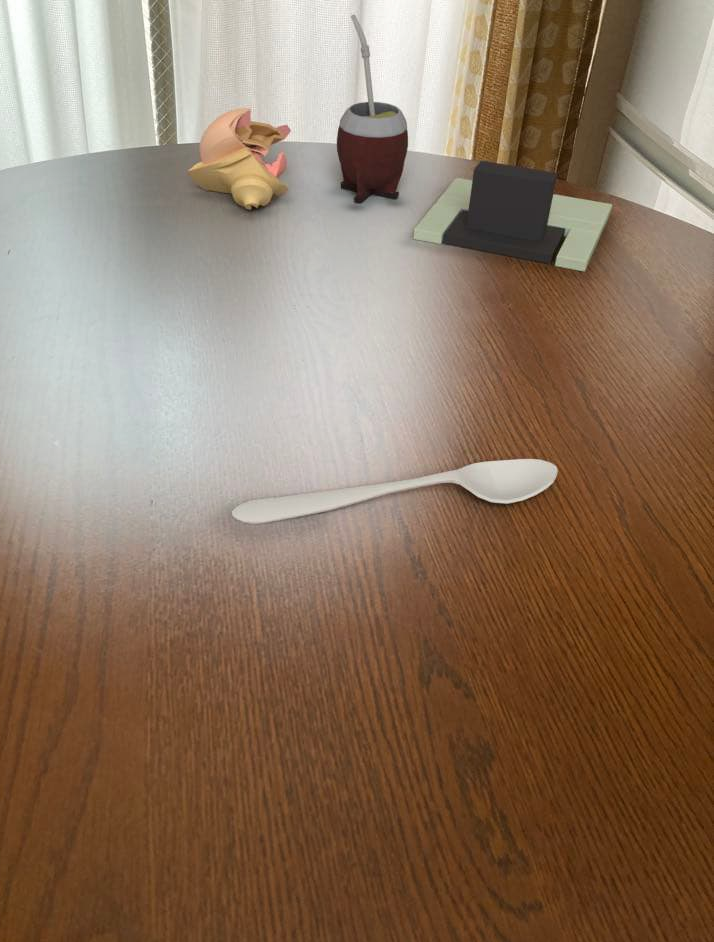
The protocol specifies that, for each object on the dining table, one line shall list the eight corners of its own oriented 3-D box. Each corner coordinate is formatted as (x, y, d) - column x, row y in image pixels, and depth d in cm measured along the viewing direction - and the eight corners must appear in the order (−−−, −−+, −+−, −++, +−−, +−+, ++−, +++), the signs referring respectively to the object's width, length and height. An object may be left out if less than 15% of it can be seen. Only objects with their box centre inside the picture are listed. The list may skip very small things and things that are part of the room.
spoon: (565, 506, 57) (570, 486, 56) (235, 538, 55) (234, 517, 54) (541, 466, 60) (546, 446, 59) (228, 494, 58) (227, 474, 57)
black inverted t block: (567, 230, 88) (582, 161, 84) (550, 264, 83) (565, 192, 78) (466, 212, 91) (475, 144, 87) (443, 243, 85) (451, 173, 81)
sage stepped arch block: (610, 213, 91) (612, 203, 91) (584, 272, 82) (587, 261, 81) (454, 186, 96) (456, 177, 95) (412, 239, 86) (414, 228, 85)
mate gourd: (388, 211, 91) (401, 43, 81) (315, 196, 93) (319, 31, 83) (414, 185, 96) (430, 24, 86) (345, 171, 98) (352, 13, 88)
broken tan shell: (304, 219, 90) (245, 164, 83) (224, 249, 96) (162, 200, 88) (307, 139, 93) (249, 79, 85) (229, 173, 98) (168, 120, 90)
